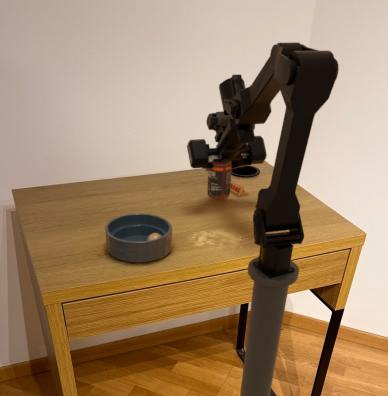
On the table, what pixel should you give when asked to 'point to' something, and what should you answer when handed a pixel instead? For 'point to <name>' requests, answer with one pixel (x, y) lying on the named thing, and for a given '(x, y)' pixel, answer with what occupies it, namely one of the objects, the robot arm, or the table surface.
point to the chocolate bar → (237, 189)
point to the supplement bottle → (219, 179)
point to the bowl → (138, 237)
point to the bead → (153, 236)
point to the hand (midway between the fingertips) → (218, 168)
